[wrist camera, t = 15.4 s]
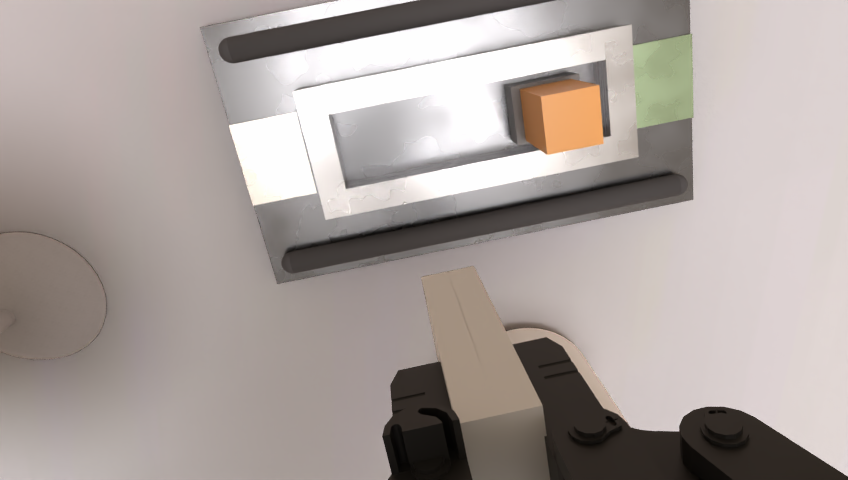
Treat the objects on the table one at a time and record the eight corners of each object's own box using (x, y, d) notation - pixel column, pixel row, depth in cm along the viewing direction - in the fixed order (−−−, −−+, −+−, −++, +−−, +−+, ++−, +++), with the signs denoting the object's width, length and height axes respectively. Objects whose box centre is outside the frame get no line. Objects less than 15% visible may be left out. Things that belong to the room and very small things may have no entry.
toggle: (511, 140, 35) (538, 160, 30) (504, 84, 34) (530, 94, 28) (574, 127, 35) (613, 145, 30) (569, 71, 34) (608, 78, 28)
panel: (280, 276, 38) (272, 296, 35) (206, 27, 33) (189, 26, 30) (683, 194, 39) (709, 207, 36) (677, -65, 33) (707, -75, 30)
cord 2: (226, 65, 32) (219, 66, 31) (218, 39, 32) (212, 39, 31) (675, -24, 33) (688, -26, 32) (674, -50, 32) (687, -54, 31)
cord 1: (286, 270, 37) (283, 279, 36) (280, 250, 36) (277, 258, 35) (681, 190, 37) (692, 196, 36) (680, 169, 37) (691, 174, 36)
